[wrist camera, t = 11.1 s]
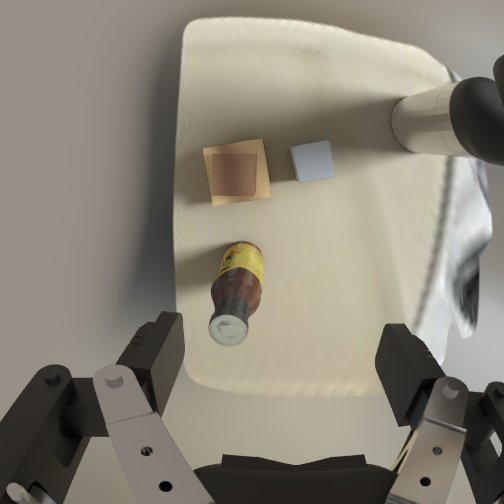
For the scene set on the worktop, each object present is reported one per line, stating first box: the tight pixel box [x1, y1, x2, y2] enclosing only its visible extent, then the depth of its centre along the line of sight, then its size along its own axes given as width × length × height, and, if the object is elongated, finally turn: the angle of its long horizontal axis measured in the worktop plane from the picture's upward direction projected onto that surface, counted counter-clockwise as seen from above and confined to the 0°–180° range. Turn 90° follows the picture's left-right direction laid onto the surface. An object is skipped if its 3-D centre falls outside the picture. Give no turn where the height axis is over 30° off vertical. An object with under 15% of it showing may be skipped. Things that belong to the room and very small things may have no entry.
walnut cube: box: [212, 154, 257, 197], centre depth 38 cm, size 5×5×5 cm
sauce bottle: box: [209, 241, 264, 346], centre depth 40 cm, size 7×6×20 cm
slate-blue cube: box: [289, 140, 336, 183], centre depth 41 cm, size 5×5×5 cm
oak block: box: [203, 138, 271, 206], centre depth 43 cm, size 8×8×5 cm
